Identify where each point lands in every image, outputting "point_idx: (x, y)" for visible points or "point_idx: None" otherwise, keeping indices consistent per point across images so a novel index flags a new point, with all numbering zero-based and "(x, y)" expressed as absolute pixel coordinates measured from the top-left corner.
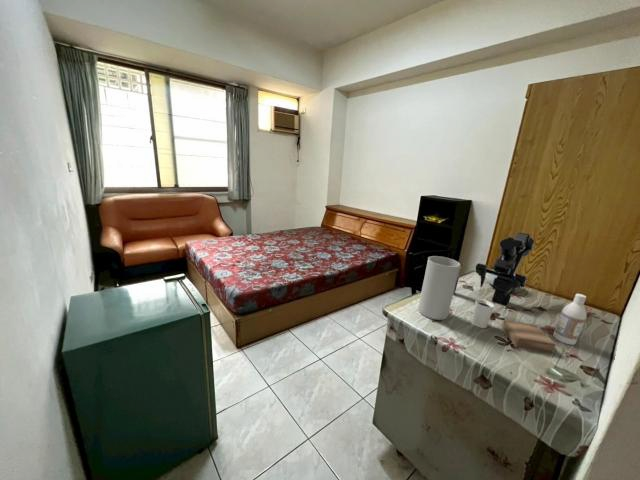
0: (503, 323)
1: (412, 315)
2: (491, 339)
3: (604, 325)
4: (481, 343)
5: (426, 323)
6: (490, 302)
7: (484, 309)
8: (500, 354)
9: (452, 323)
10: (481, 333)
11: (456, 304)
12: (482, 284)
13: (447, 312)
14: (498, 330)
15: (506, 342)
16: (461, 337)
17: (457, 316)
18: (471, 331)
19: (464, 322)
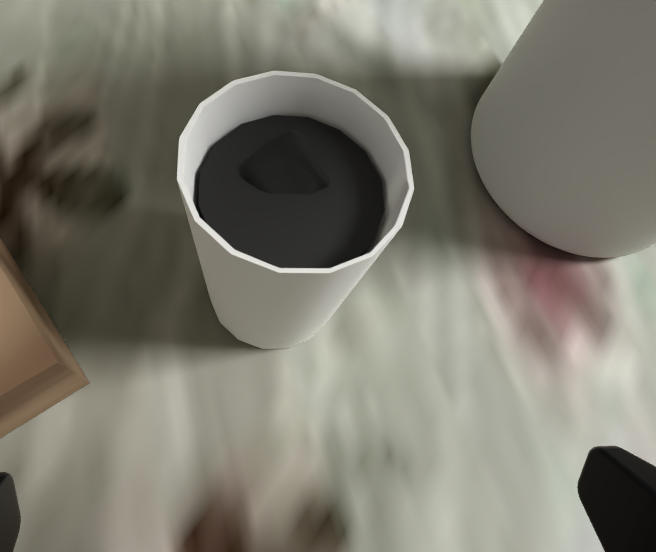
0: (67, 365)
1: None
2: (138, 132)
3: None
4: (184, 41)
5: (502, 20)
6: (248, 260)
7: (262, 107)
8: (60, 9)
9: (411, 132)
10: None
11: (570, 510)
12: (631, 518)
13: (494, 103)
14: (110, 319)
15: (31, 175)
16: (299, 21)
17: (440, 263)
18: None
19: None
